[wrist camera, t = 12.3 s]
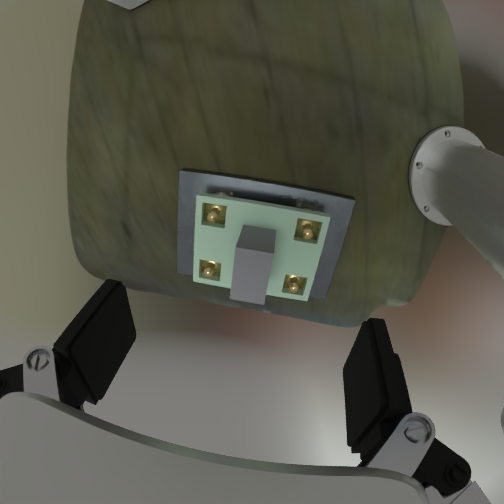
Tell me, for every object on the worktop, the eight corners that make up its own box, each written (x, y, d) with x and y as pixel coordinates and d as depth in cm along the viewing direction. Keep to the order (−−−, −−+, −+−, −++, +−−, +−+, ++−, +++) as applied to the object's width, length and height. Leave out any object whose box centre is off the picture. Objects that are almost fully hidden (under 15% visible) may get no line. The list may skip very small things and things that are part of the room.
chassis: (353, 197, 32) (363, 213, 28) (323, 293, 39) (327, 318, 35) (183, 168, 33) (167, 179, 28) (180, 268, 40) (167, 289, 35)
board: (329, 213, 30) (337, 239, 25) (306, 296, 36) (308, 329, 30) (199, 192, 31) (180, 212, 26) (195, 276, 36) (180, 307, 31)
